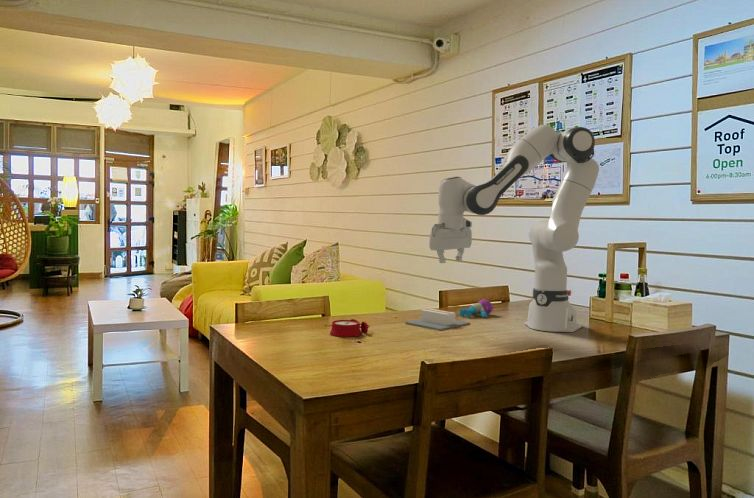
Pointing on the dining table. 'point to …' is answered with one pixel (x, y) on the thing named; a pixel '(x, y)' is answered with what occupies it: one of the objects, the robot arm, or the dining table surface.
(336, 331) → the alarm clock
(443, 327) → the mat
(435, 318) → the white rectangular block
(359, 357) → the dining table surface
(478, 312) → the toy
